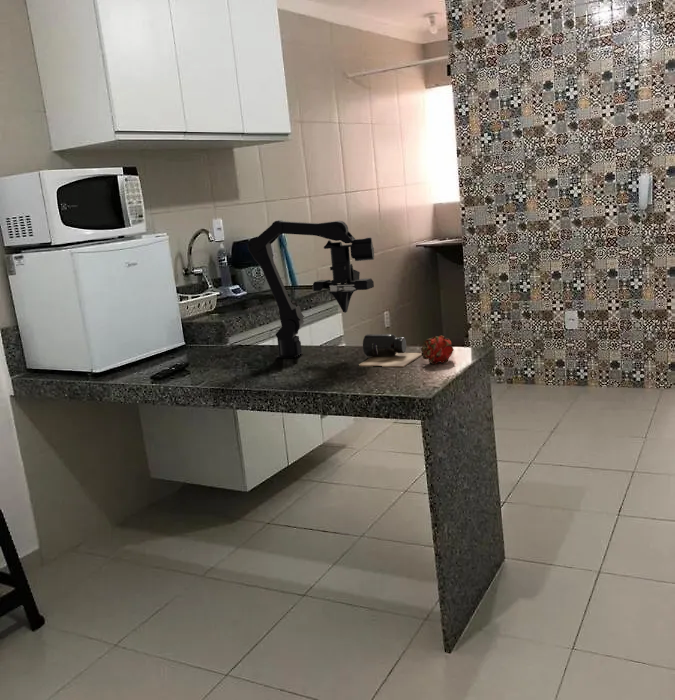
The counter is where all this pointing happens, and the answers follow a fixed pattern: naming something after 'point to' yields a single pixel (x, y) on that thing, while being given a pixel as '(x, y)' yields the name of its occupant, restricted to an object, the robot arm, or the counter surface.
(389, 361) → the cork mat
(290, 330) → the robot arm
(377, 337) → the supplement bottle
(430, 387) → the counter surface
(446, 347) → the dragon fruit
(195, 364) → the counter surface
